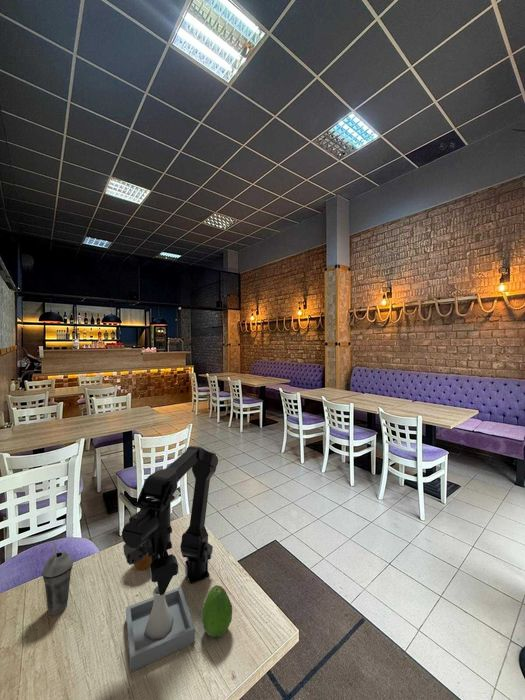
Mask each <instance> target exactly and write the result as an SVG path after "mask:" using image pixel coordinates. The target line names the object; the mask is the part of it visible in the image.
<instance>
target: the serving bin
mask: <svg viewBox="0 0 525 700" xmlns="http://www.w3.org/2000/svg"><path fill="white" fill-rule="evenodd" d="M165 599H166V603H167V605H168V608H169V610H170V612H171V614H172V616H173V625H172V629H171V630H170V631H169V633H168V634H167V635H166V636H165V637H164V638H161V639H152V640H151V639H150V638H149V637H147V636H146V635H145V634H144V632H145V629H146V625H147V622H148V619H149V616H150V613H151V610H152V607H153V602H154V596H152V597H149V598H146V599H144V600H141V601H139V602H136V603H133V604H131V605H128V606H126V607H125V621H126V624H125V625H126V632H127V633H126V635H127V636H126V637H127V646H128V647H127V648H128V655H129V667H130V670H129V671H130V673H133V672H135V671H137V670H139V669H142V668H144V667H146V666H148V665H151V664H152V663H154V662H156V661H158V660H160V659H162V658H165V657H166V656H167V657H168V656H169V655H171V654H173V653H175V652H177V651H179V650H182V649H184V648H185V647H188V646H190V645H192V644H194V643H195V641H196V633H195V632H196V628H195V625H194V622H193V618H192V616H191V612H190V609H189V606H188V603H187V600H186V597H185V595H184V591H183V588H182V586H179V587H177V588H176V587H175V588H174V589H170V590H168V591H165Z"/></svg>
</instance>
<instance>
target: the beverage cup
mask: <svg viewBox="0 0 525 700" xmlns="http://www.w3.org/2000/svg"><path fill="white" fill-rule="evenodd" d="M52 549H53V555H51V556H50V557H49V558H48V559H47V560H46V562H45V564H44V565H43V569H42V573H41V575H42V578H43V583H44V587H45V595H46V596H45V597H46V607H47V614H48V615H49V616H57V615H59V614H61V613H62V612H64V611H65V610H66V608H68V601H69V596H70V595H69V594H70V593H69V592H70V583H71V573H72V571H73V565H74V564H73V559H72V556H71V554H69V553H68V552H65V551H59V552H57V549H56V542H55V540H53V541H52Z"/></svg>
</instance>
